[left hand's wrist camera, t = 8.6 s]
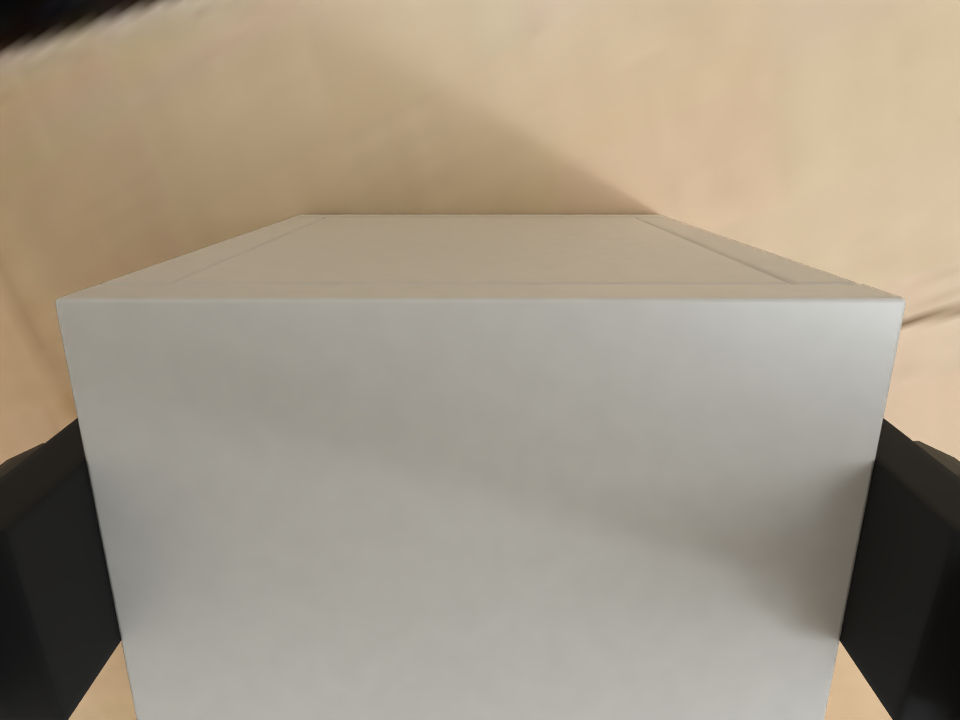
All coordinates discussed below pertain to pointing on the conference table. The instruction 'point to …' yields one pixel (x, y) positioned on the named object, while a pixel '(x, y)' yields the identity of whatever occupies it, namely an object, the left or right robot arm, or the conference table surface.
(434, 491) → the cabinet
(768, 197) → the conference table surface
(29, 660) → the left robot arm
